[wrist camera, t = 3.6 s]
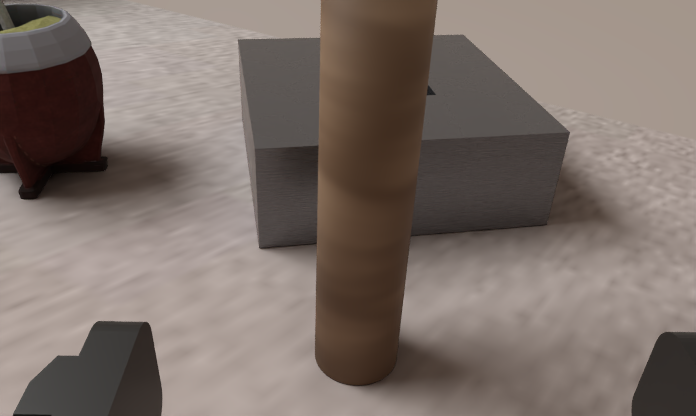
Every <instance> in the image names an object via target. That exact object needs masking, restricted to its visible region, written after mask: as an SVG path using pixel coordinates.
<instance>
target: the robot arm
mask: <svg viewBox="0 0 696 416" xmlns="http://www.w3.org/2000/svg"><path fill="white" fill-rule="evenodd" d="M161 412H162V387H161V381H160V376H159V370H158V365H157V359H156V353H155V348H154V342H153V336H152V331H151V327H150V325H149V323H147V322H115V321H98V322H96V323H95V324H94V325H93V327H92V328H91V330H90V332H89V335H88V337H87V339H86V341H85V343H84V346H83V348H82V350H81V352H80V354H79V356H57V357H56V358H55V359H54V360H53V361H52V362H51V363H50V364H48V365H47V366H46V367H45V368H44V369H43V370H42V371H41V372H40V373H39V374H38V375H37V376H36V377H35V378H34V379H33V380H32V381H31V382H30V383H29V384H28V386H27V388H26V390H25V392H24V394H23V396H22V398H21V400H20V402H19V404H18V406H17V407H16V409H15V411H14V413H13V416H161ZM632 416H696V332H665V333H663V334H661V335H660V336H659V337H658V339H657V341H656V343H655V346H654V348H653V350H652V353H651V355H650V358H649V360H648V362H647V365H646V367H645V369H644V372H643V374H642V377H641V379H640V381H639V384H638V386H637V389H636V391H635V393H634V396H633V400H632Z"/></svg>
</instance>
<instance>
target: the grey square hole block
mask: <svg viewBox="0 0 696 416" xmlns="http://www.w3.org/2000/svg"><path fill="white" fill-rule="evenodd" d="M238 49H239V67H240V86H241V104H242V120H243V127H244V135H245V143H246V150H247V158H248V166H249V173H250V181H251V189H252V196H253V204H254V212H255V220H256V227H257V235H258V243H259V248H266V247H278V246H290V245H302V244H315V243H317V209H318V150H319V91H320V38H292V39H244V40H238ZM569 134H570V132H569V131H568V130H567V129H566V128H565V127H564V126H563V125H561V124H560V123H559V122H558V121H557V120H556V119H555V118H554V117H553V116H552V115H551V114H549V113H548V112H547V111H546V110H545V109H544V108H543V107H542V106H541V105H540V104H538V103H537V102H536V101H535V100H534V99H533V98H532V97H531V96H530V95H528V94H527V93H526V92H525V91H524V90H523V89H522V88H521V87H520V86H519V85H518V84H517V83H515V82H514V81H513V80H512V79H511V78H510V77H509V76H508V75H507V74H506V73H505V72H503V71H502V70H501V69H500V68H499V67H498V66H497V65H496V64H495V63H494V62H492V61H491V60H490V59H489V58H488V57H487V56H486V55H485V54H484V53H483V52H482V51H480V50H479V49H478V48H477V47H476V46H475V45H474V44H473V43H472V42H470V41H469V40H468V39H467V38H466V37H465V36H464V35H434V36H433V44H432V53H431V62H430V70H429V79H428V88H427V97H426V105H425V114H424V123H423V132H422V140H421V149H420V158H419V167H418V175H417V184H416V193H415V202H414V210H413V219H412V228H411V236H413V235H425V234H437V233H450V232H462V231H474V230H486V229H499V228H511V227H523V226H535V225H547V221H548V217H549V213H550V209H551V205H552V201H553V197H554V193H555V189H556V185H557V181H558V177H559V173H560V170H561V166H562V162H563V158H564V154H565V150H566V146H567V142H568V138H569Z"/></svg>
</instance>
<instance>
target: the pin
mask: <svg viewBox="0 0 696 416" xmlns="http://www.w3.org/2000/svg"><path fill="white" fill-rule="evenodd" d="M436 9H437V0H321V33H320V36H321V37H320V91H319V150H318V209H317V268H316V327H315V358H316V362H317V364H318V366H319V367H320V369H321V370H322V371H323V372H324V373H325V374H326V375H327V376H329V377H330V378H332V379H334V380H336V381H338V382H341V383H344V384H349V385H367V384H371V383H375V382H377V381H380V380H381V379H383V378H385V377H386V376H387V375H388V374H389V373H390V372H391V371H392V370H393V368H394V366H395V364H396V359H397V350H398V341H399V333H400V324H401V315H402V306H403V298H404V289H405V280H406V271H407V263H408V254H409V245H410V236H411V228H412V219H413V210H414V202H415V193H416V184H417V175H418V167H419V158H420V149H421V140H422V132H423V123H424V114H425V105H426V97H427V88H428V79H429V70H430V62H431V53H432V44H433V36H434V27H435V18H436Z"/></svg>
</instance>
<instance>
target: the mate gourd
mask: <svg viewBox="0 0 696 416" xmlns="http://www.w3.org/2000/svg"><path fill="white" fill-rule="evenodd" d="M104 124H105V118H104V106H103V82H102V73H101V69H100V65H99V62H98V59H97V56H96V54H95V52H94V50H93V48H92V46H91V41H90V39H89V37H88V36H87V34H86V32H85V31H84V29H83V28H82V27H81V26H80V24H79V23H78V22H77V21H76V20H75V19H74V18H73V17H72V16H71V15H70V14H69V13H68V12H67V11H65V10H63V9H60V8H57V7H55V6H49V5H42V4H6V5H4V3H3V1H2V0H0V173H17V172H18V174H19V176H20V178H21V180H22V183H23V184H22V185H21V187H20V189H19V195H20V197H21V199H34V198H37V197H38V195H39V194H40V192H41V191H42V189H43V187H44V186H45V184H46V182H47V181H48V179H49V177H50V176H51V175H52V174H53V173H55V172H92V171H104V170H106V168H107V166H108V165H107V159H108V158H107V157H101V148H102V141H103V134H104Z"/></svg>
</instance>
